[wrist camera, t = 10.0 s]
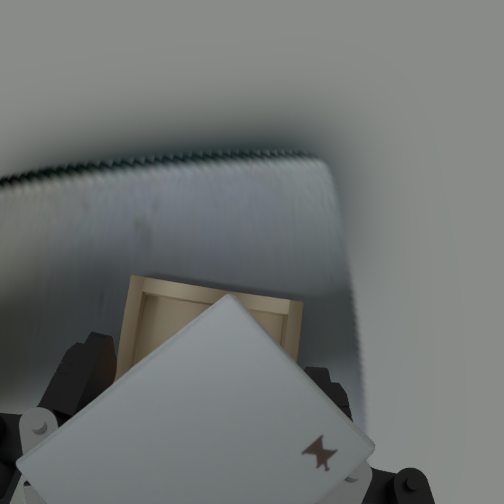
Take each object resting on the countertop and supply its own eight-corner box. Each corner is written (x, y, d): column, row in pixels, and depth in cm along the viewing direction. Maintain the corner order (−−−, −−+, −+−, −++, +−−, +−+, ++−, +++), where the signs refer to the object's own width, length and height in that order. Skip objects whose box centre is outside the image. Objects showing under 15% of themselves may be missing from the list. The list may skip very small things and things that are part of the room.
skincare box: (222, 323, 17) (238, 277, 5) (275, 383, 16) (389, 449, 5) (135, 392, 15) (5, 461, 4) (188, 452, 15) (153, 602, 3)
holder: (116, 433, 20) (109, 440, 18) (137, 279, 23) (131, 274, 21) (276, 457, 21) (281, 466, 19) (297, 304, 24) (304, 301, 22)
